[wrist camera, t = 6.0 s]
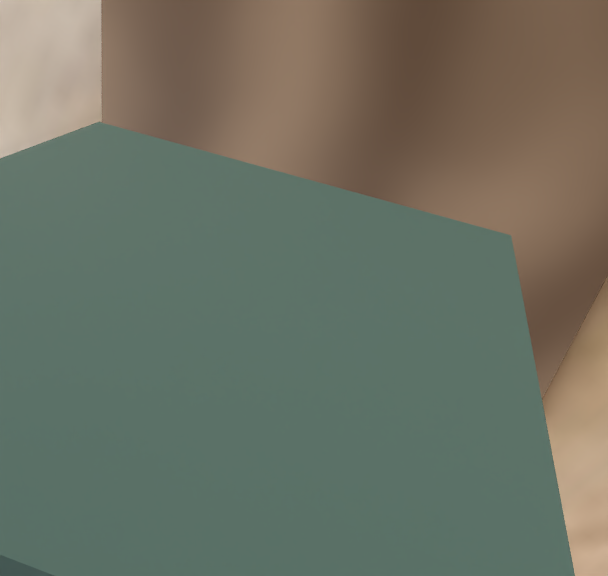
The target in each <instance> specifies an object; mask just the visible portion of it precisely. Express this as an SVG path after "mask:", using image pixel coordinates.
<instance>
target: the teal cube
mask: <svg viewBox="0 0 608 576" xmlns="http://www.w3.org/2000/svg"><path fill="white" fill-rule="evenodd" d="M0 576H575V574H574V568H573V563H572V558H571V552H570V547H569V542H568V536H567V531H566V526H565V520H564V515H563V510H562V504H561V499H560V494H559V488H558V483H557V478H556V472H555V467H554V462H553V456H552V451H551V446H550V440H549V435H548V430H547V424H546V419H545V414H544V408H543V403H542V398H541V392H540V387H539V382H538V376H537V371H536V366H535V360H534V355H533V350H532V344H531V339H530V334H529V328H528V323H527V317H526V312H525V307H524V301H523V296H522V291H521V285H520V280H519V275H518V269H517V264H516V259H515V253H514V248H513V243H512V237H511V235H508V234H504V233H501V232H497V231H493V230H490V229H486V228H483V227H479V226H475V225H472V224H468V223H464V222H461V221H457V220H453V219H450V218H446V217H443V216H439V215H435V214H432V213H428V212H424V211H421V210H417V209H414V208H410V207H406V206H403V205H399V204H395V203H392V202H388V201H385V200H381V199H377V198H374V197H370V196H366V195H363V194H359V193H355V192H352V191H348V190H345V189H341V188H337V187H334V186H330V185H326V184H323V183H319V182H316V181H312V180H308V179H305V178H301V177H297V176H294V175H290V174H286V173H283V172H279V171H276V170H272V169H268V168H265V167H261V166H257V165H254V164H250V163H247V162H243V161H239V160H236V159H232V158H228V157H225V156H221V155H218V154H214V153H210V152H207V151H203V150H199V149H196V148H192V147H188V146H185V145H181V144H178V143H174V142H170V141H167V140H163V139H159V138H156V137H152V136H149V135H145V134H141V133H138V132H134V131H130V130H127V129H123V128H119V127H116V126H112V125H109V124H105V123H101V122H98V123H95V124H92V125H89V126H87V127H84V128H81V129H79V130H76V131H73V132H71V133H68V134H65V135H63V136H60V137H57V138H54V139H52V140H49V141H46V142H44V143H41V144H38V145H36V146H33V147H30V148H27V149H25V150H22V151H19V152H17V153H14V154H11V155H9V156H6V157H3V158H1V159H0Z"/></svg>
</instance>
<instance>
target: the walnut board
mask: <svg viewBox="0 0 608 576" xmlns="http://www.w3.org/2000/svg"><path fill="white" fill-rule="evenodd" d="M102 123H105V124H109V125H112V126H116V127H119V128H123V129H127V130H130V131H134V132H138V133H141V134H145V135H149V136H152V137H156V138H159V139H163V140H167V141H170V142H174V143H178V144H181V145H185V146H188V147H192V148H196V149H199V150H203V151H207V152H210V153H214V154H218V155H221V156H225V157H228V158H232V159H236V160H239V161H243V162H247V163H250V164H254V165H257V166H261V167H265V168H268V169H272V170H276V171H279V172H283V173H286V174H290V175H294V176H297V177H301V178H305V179H308V180H312V181H316V182H319V183H323V184H326V185H330V186H334V187H337V188H341V189H345V190H348V191H352V192H355V193H359V194H363V195H366V196H370V197H374V198H377V199H381V200H385V201H388V202H392V203H395V204H399V205H403V206H406V207H410V208H414V209H417V210H421V211H424V212H428V213H432V214H435V215H439V216H443V217H446V218H450V219H453V220H457V221H461V222H464V223H468V224H472V225H475V226H479V227H483V228H486V229H490V230H493V231H497V232H501V233H504V234H508V235H511V237H512V243H513V248H514V253H515V259H516V264H517V269H518V275H519V280H520V285H521V291H522V296H523V301H524V307H525V312H526V317H527V323H528V328H529V334H530V339H531V344H532V350H533V355H534V360H535V366H536V371H537V376H538V382H539V387H540V392H541V398H542V399H543V397H544V395H545V393H546V391H547V389H548V387H549V385H550V383H551V382H552V380H553V378H554V376H555V374H556V372H557V370H558V368H559V366H560V364H561V363H562V361H563V359H564V357H565V355H566V353H567V351H568V349H569V347H570V346H571V344H572V342H573V340H574V338H575V336H576V334H577V332H578V330H579V329H580V327H581V325H582V323H583V321H584V319H585V317H586V315H587V313H588V312H589V310H590V308H591V306H592V304H593V302H594V300H595V298H596V296H597V295H598V293H599V291H600V289H601V287H602V285H603V283H604V281H605V279H606V278H607V276H608V0H102Z"/></svg>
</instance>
